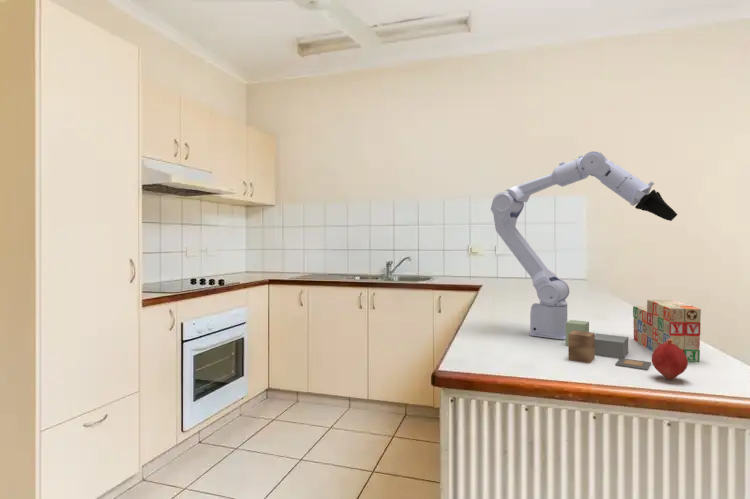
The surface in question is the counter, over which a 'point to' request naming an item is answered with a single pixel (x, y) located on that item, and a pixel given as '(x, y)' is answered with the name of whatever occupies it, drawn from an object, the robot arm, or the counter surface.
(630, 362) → the card
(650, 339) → the stack of blocks
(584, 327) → the sage block
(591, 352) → the walnut block
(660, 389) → the counter surface
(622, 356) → the slate base block
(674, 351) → the onion
